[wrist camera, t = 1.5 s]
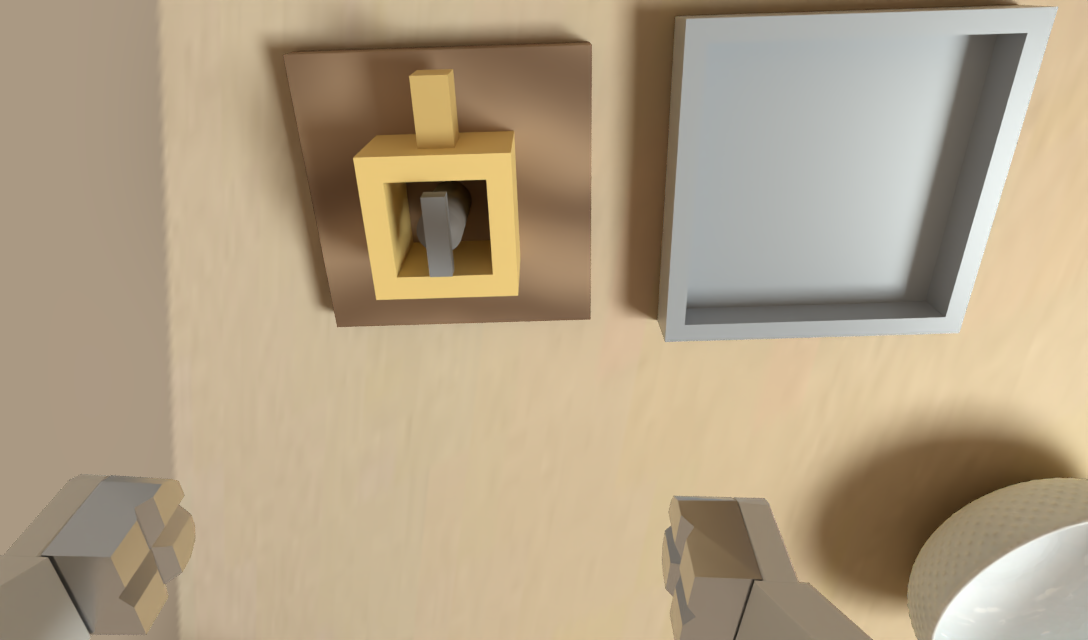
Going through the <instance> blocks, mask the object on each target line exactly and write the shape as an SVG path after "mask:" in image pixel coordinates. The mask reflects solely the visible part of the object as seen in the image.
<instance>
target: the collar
mask: <svg viewBox="0 0 1088 640" xmlns="http://www.w3.org/2000/svg"><path fill="white" fill-rule="evenodd" d="M409 80H410V89H411V97H412V106H413V114H414V123H415V131H416V134H401V135H376V136H375V137H374V138H373V139H372V140H371V141H370V142H369V143H368V144H367V145H366V146H365V147H364V148H363V149H362V150H361V151H360V152H359V153H357V154H356V155H355V156H354V157H353V161H354V167H355V173H356V179H357V185H358V191H359V197H360V203H361V209H362V216H363V222H364V228H365V234H366V240H367V246H368V252H369V258H370V264H371V270H372V276H373V283H374V289H375V295H376V300H393V299H426V298H459V297H492V296H518V291H519V274H520V241H519V220H518V200H517V180H516V159H515V139H514V131H496V132H464V133H459V130H458V119H457V107H456V96H455V84H454V73H453V69H437V70H416V71H415V72H414V73H412V74H411V75H410V76H409ZM459 180H486V182H487V196H488V211H489V225H490V239H491V240H481V241H460V243H459V245H458V246H457V247H456V248H455V249H453V259H454V269H455V270H454V273H453V277H430V274H429V266H428V258H427V249H426V248H425V247H424V246H423V245H422V244H421V243H420V242H416V243H413V235H412V228H411V220H410V212H409V205H408V197H407V189H406V182H427V181H459Z"/></svg>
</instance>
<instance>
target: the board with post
mask: <svg viewBox="0 0 1088 640" xmlns="http://www.w3.org/2000/svg"><path fill="white" fill-rule="evenodd" d="M283 57H284V62H285V67H286V72H287V77H288V82H289V87H290V92H291V97H292V102H293V107H294V112H295V117H296V122H297V127H298V132H299V137H300V142H301V147H302V152H303V157H304V163H305V168H306V173H307V178H308V183H309V188H310V193H311V198H312V203H313V208H314V213H315V218H316V223H317V228H318V233H319V238H320V243H321V248H322V253H323V258H324V263H325V268H326V273H327V278H328V283H329V288H330V293H331V298H332V303H333V308H334V313H335V318H336V323H337V327H353V326H386V325H419V324H453V323H486V322H519V321H552V320H585V319H590V306H591V95H592V45H591V43H590V42H578V43H547V44H516V45H485V46H454V47H423V48H391V49H360V50H329V51H298V52H291V53H287V54H284V55H283ZM437 69H453V73H454V84H455V96H456V107H457V119H458V130H459V133H464V132H496V131H514V139H515V159H516V180H517V200H518V220H519V241H520V274H519V291H518V296H492V297H459V298H426V299H393V300H376V295H375V289H374V283H373V276H372V270H371V264H370V258H369V252H368V246H367V240H366V234H365V228H364V222H363V216H362V209H361V203H360V197H359V191H358V185H357V179H356V173H355V167H354V161H353V157H354V156H355V155H356V154H357V153H359V152H360V151H361V150H362V149H363V148H364V147H365V146H366V145H367V144H368V143H369V142H370V141H371V140H372V139H373V138H374V137H375V136H376V135H401V134H416V131H415V123H414V114H413V106H412V97H411V89H410V80H409V76H410V75H411V74H412V73H414V72H415V71H416V70H437ZM406 189H407V197H408V205H409V212H410V220H411V228H412V235H413V243H416V242H420V243H421V244H422V245H423V246H424V247H425V248H426V249H427V258H428V266H429V274H430V277H453V273H454V270H455V269H454V259H453V249H455V248H456V247H457V246H458V245H459V243H460V241H481V240H491V239H490V225H489V211H488V196H487V182H486V180H459V181H427V182H406Z"/></svg>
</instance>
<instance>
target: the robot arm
mask: <svg viewBox="0 0 1088 640" xmlns="http://www.w3.org/2000/svg"><path fill="white" fill-rule="evenodd" d="M184 496H185V495H184V492H183V490H182V488H181V485H180V483H179V481H177V480H173V479H162V478H146V477H129V476H113V475H111V476H105V475H88V474H80V475H78V476H76V477H74V478H72V479H70V480H69V481H68V482H67V483H66V484H65V486H64V487H63V488H62V489H61V490H60V491H59V492H58V494H57V495H56V496H55V497H54V498H53V499H52V500H51V501H50V503H49V504H48V505H47V506H46V507H45V508H44V510H42V512H41V513H40V514H39V515H38V516H37V517H36V519H35V520H34V521H33V522H32V523H31V524H30V525H29V526H28V528H27V529H26V530H25V531H24V532H23V533H22V534H21V535H20V537H19V538H18V539H17V540H16V541H15V542H14V543H13V545H12V546H11V547H10V548H9V549H8V550H7V551H6V553H5V554H4V555H0V640H89V639H90V638H91V635H90V634H97V635H99V634H100V635H101V634H106V635H107V634H108V635H116V634H117V635H146V634H147V633H148V631H149V630H150V628H151V626H152V624H153V622H154V621H155V619H156V617H157V616H158V614H159V612H160V610H161V609H162V607H163V605H164V604H165V602H166V600H167V598H168V592H167V588H166V584H167V583H168V582H170V581H171V580H172V579H174V578H175V577H177V576H178V575H179V574H181V573H182V572H183V570H184V569H185V567H186V565H187V563H188V561H189V559H190V557H191V554H192V550H193V546H194V542H195V524H194V521H193V518H192V515H191V514H190V513H189V512H188V511H186V510H185V509H184V508H182V507H181V506H180V505H179V504H180V502H181V500H182V499H183V497H184ZM669 517H670V522H671V526H670V527H669V528H668V529H666V530H665V533H664V539H663V548H662V566H663V576H664V583H665V589H666V590H667V591H668V592H669V593H670V594H671V595H672V596H673V600H672V605H671V609H670V618H671V623H672V629H673V634H674V640H873V639H872V638H870V637H869V636H868V635H867V634H866V633H865V632H864V631H863V630H861V629H860V628H859V627H858V626H857V625H856V624H855V623H853V622H852V621H851V620H850V619H849V618H848V617H847V616H846V615H844V614H843V613H842V612H841V611H840V610H839V609H838V608H837V607H835V606H834V605H833V604H832V603H831V602H830V601H829V600H828V599H826V598H825V597H824V596H823V595H822V594H821V593H820V592H819V591H817V590H816V589H815V588H814V587H813V586H812V585H811V584H810V583H805V582H799V580H798V577H797V575H796V572H795V570H794V567H793V564H792V562H791V559H790V557H789V554H788V551H787V549H786V546H785V544H784V541H783V538H782V536H781V533H780V531H779V528H778V525H777V523H776V520H775V518H774V515H773V512H772V510H771V507H770V505H769V503H768V502H767V501H766V500H765V499H764V498H736V497H734V498H731V497H700V496H673V498H672V500H671V503H670V508H669Z"/></svg>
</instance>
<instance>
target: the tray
mask: <svg viewBox="0 0 1088 640" xmlns="http://www.w3.org/2000/svg"><path fill="white" fill-rule="evenodd" d="M1057 9H1058V7H1051V6H1030V5H1005V6H974V7H943V8H912V9H881V10H849V11H818V12H787V13H756V14H725V15H694V16H675V30H674V47H673V64H672V81H671V98H670V116H669V133H668V150H667V167H666V184H665V201H664V218H663V235H662V252H661V269H660V286H659V304H658V323H659V326H660V329H661V332H662V335H663V337H664V340H665V342H676V341H710V340H743V339H776V338H810V337H843V336H876V335H910V334H943V333H959V332H960V329H961V326H962V322H963V319H964V316H965V312H966V309H967V306H968V302H969V299H970V296H971V293H972V289H973V286H974V283H975V279H976V276H977V273H978V270H979V266H980V263H981V260H982V256H983V253H984V250H985V246H986V243H987V240H988V237H989V233H990V230H991V227H992V223H993V220H994V217H995V214H996V210H997V207H998V204H999V200H1000V197H1001V194H1002V190H1003V187H1004V184H1005V181H1006V177H1007V174H1008V171H1009V167H1010V164H1011V161H1012V158H1013V154H1014V151H1015V148H1016V144H1017V141H1018V138H1019V134H1020V131H1021V128H1022V125H1023V121H1024V118H1025V115H1026V111H1027V108H1028V105H1029V102H1030V98H1031V95H1032V92H1033V88H1034V85H1035V82H1036V78H1037V75H1038V72H1039V69H1040V65H1041V62H1042V59H1043V55H1044V52H1045V49H1046V46H1047V42H1048V39H1049V36H1050V32H1051V29H1052V26H1053V22H1054V19H1055V16H1056V13H1057Z"/></svg>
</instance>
